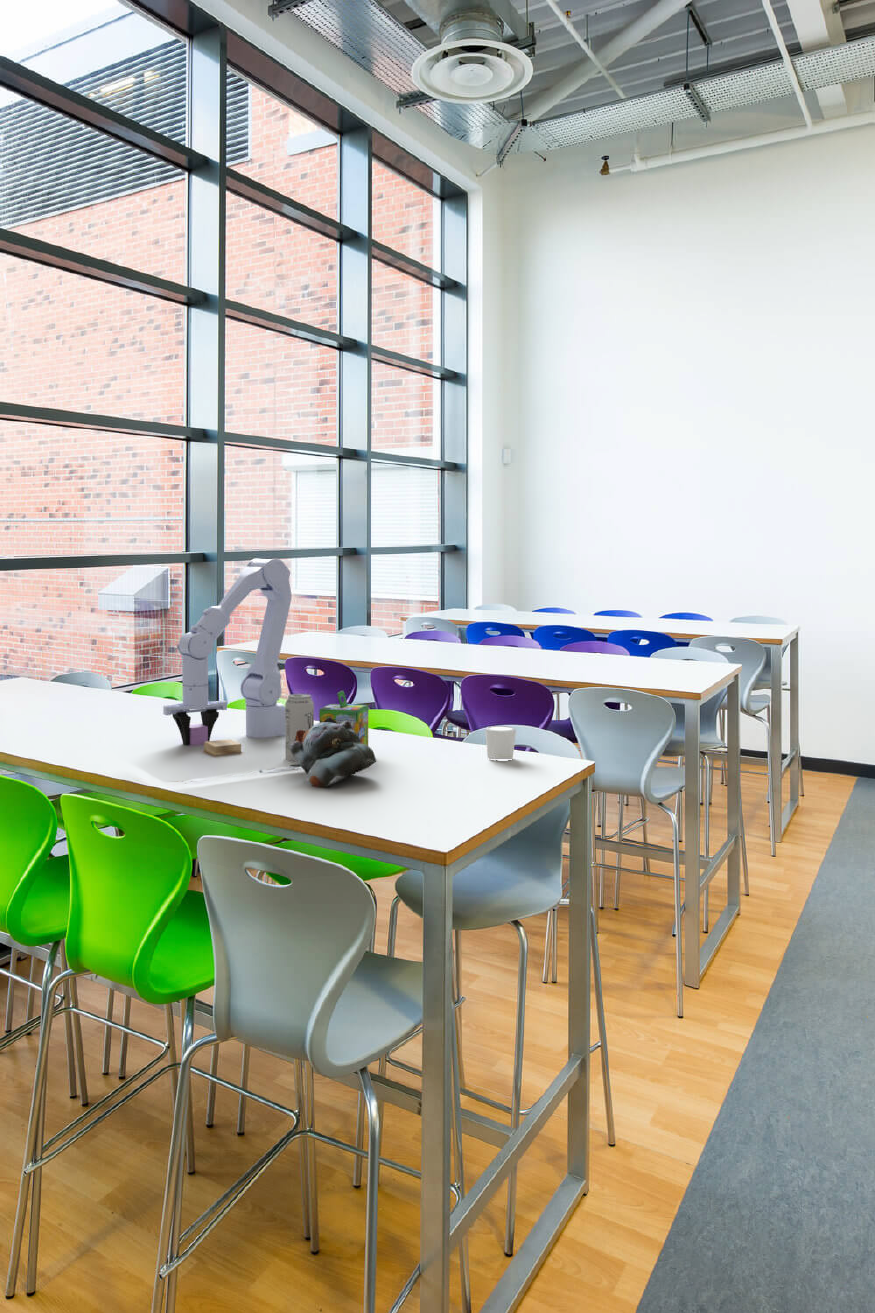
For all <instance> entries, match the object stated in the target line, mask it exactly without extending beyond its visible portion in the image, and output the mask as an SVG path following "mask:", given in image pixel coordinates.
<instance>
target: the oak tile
mask: <svg viewBox="0 0 875 1313" xmlns="http://www.w3.org/2000/svg"><path fill="white" fill-rule="evenodd" d="M203 745H204V749H203V750H204V751H206V752H208V753H211V754H213V755H215V756H214V757H218V756H217V755H222V756H227V755H226V754H230V755H235V754H234V753H238V754H242V753H241V752H242V743H239V742H237V741H235V740H233V739H230V738H228V739H227V738H226V739H219V740H218V739H217V740H210V741H206V742H204V744H203Z"/></svg>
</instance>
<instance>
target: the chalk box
mask: <svg viewBox="0 0 875 1313" xmlns="http://www.w3.org/2000/svg"><path fill="white" fill-rule="evenodd" d="M342 699H343V701H342ZM337 700H338V703H330V704H327V705H325V706H323V707H320V708H319V723H322V722H324V721H325V720H326V719H327V718H331V719H333V720H335V722H336V723H338V724H341V723H342V722H344V721H349V722H350V724H351V727H352V729H353V730H354V731H355V732H356V734H357V735H358V736H359V739H360V743H361V744H365V745H367V746H368V747H369V705H368V704H353V703H348V702H347V698H346V694H345V691H344V690H341V691H339V692H337Z"/></svg>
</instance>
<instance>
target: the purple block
mask: <svg viewBox="0 0 875 1313" xmlns="http://www.w3.org/2000/svg"><path fill="white" fill-rule="evenodd" d="M189 740H190V741H189V745H188V746H191V747H192V746H201V745H204V742H206V741H208V726H205V725H202V723H196V724H190V727H189Z"/></svg>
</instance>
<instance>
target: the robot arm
mask: <svg viewBox="0 0 875 1313" xmlns="http://www.w3.org/2000/svg"><path fill="white" fill-rule="evenodd" d="M290 576H291V570H290V569H289V568H288V566H287V564H285V563H284V561H283V560H281V559H279V558H272V559H271V558H270V559H266V558H258V557H257V558H253V559H251V560H250V561H248V563H247V565H246V566H245V567H244V568H242V569H241V572H240V574H239V576H238V577H237V579H236V581H235V582H234V583H233V585H232V586H231V587H230V588H229V590H228V591H227V592H226V594H225V595H224V597H223V598H222V599H221V600H220V602H219V603H218V605H215V606H209V608H205V609H204V610H203V611H202V614H203V615H202V616H201V617H200V618H199V620H198V621H197V622H196V623H195V625H191V627H190V628H189V629H190V632H186V633H184V634H183V635H182V636H181V637H180V638H179V643H177V644H176V649H177V651H178V652H179V654H180V655H181V657H182V658H181V662H182V663H181V665H182V666H181V668H182V669H181V670H182V672H181V675H182V680H181V681H182V703H175V704H169V705H163V709H162V710H163V715H165V716H171V715H172V718H173V720H174V722H175V723H176V725H177V728H178V730H179V732H180V736H181V740H182V744H183V745H185V746H190V745H189V741H190V740H189V727H190V725H191V718H192V717H191V716H189V714H190V713H199V712H200V717H201V722H202V723H201V724H202V725H205V726H208V741H211V736H212V731H213V729H214V726H215V724H216V722H217V720H218V718H219V716H220V712H219V711H221V710H222V711H227V710H228V704H227V703H228V702H227V701H226V700H217V701H215V700H213V701H210V700H209V659H208V658H209V656H210V655H211V654H212V653H213V650H214V643H215V641H216V640H217V639H218V638H219V637H220V635H221V634H222V633H223V631H224V630H226V628H227V627H228V625H229V624H230V623H231V618H230V616H231V614H232V613H233V612H234V611H235V609H236V608H237V607H238V606H240V604H241V603H242V602H243V601H244V599H246V597H247V596H248V595H249V594H251V592H253V591H255V590H260V591H261V593H263V595H264V596H265V598H266V600H267V603H266V607H265V608H266V609H265V612H264V616H263V622H262V625H261V631H260V635H259V640H258V644H257V650H256V654H255V659H254V662H253V663H252V665H250V666H249V667H248V668H247V672H246V675H245V677H244V678H243V680H241V683H240V694H241V695H242V697H243V698H244V699H245V736H246V737H247V738H254V739H266V738H273V737H279V736H284V737H285V705H284V704H283V703H281V702H278V701H279V700H280V698H281V696H282V685H281V680H282V674H281V672H280V670H279V669H278V663H279V658H280V654H281V648H282V646H283V645H282V644H283V639H284V635H285V630H286V625H287V621H288V617H289V612H290V607H291V602H292V596H293V595H292V589H291V585H290Z"/></svg>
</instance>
